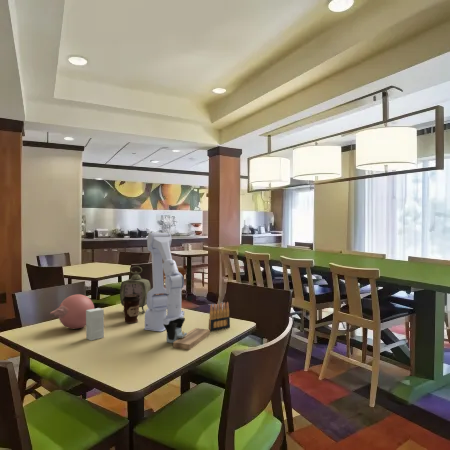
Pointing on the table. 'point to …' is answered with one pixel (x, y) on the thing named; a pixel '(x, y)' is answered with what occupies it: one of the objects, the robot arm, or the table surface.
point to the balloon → (74, 311)
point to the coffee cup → (131, 308)
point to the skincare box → (94, 324)
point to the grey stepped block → (177, 335)
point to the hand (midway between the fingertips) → (174, 337)
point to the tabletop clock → (135, 288)
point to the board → (191, 338)
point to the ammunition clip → (219, 317)
